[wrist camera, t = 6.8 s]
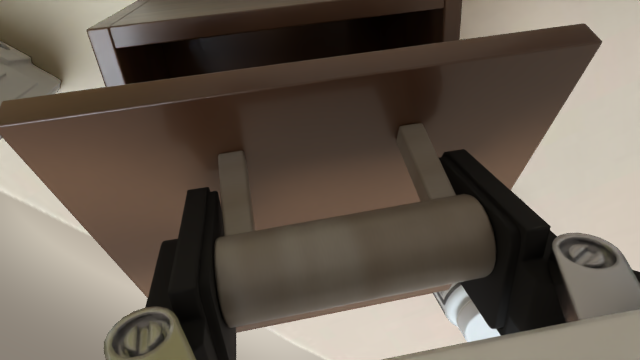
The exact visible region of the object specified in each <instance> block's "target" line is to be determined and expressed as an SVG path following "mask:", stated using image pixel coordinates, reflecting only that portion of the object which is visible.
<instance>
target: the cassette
mask: <svg viewBox="0 0 640 360" xmlns="http://www.w3.org/2000/svg"><path fill="white" fill-rule="evenodd" d="M60 83H61V81H60V80H59V79H58V78H56V77H55V76H53V75H51V74H49V73H47V72H45V71H43V70H42V69H40V68H38V67H36V66H34V65H33V64H32V63H31V57H29V56H27V55H25V54H24V53H22V52H20V51H18V50H16V49H14V48H13V47H11V46H9V45H7V44H5V43H3V42H1V41H0V105H1V102H2V101H6V100H13V99H21V98H28V97H36V96H43V95H51V94H55V93H56V92H58V90H59V88H60ZM2 138H3V137H2V136H1V135H0V139H2Z"/></svg>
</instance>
